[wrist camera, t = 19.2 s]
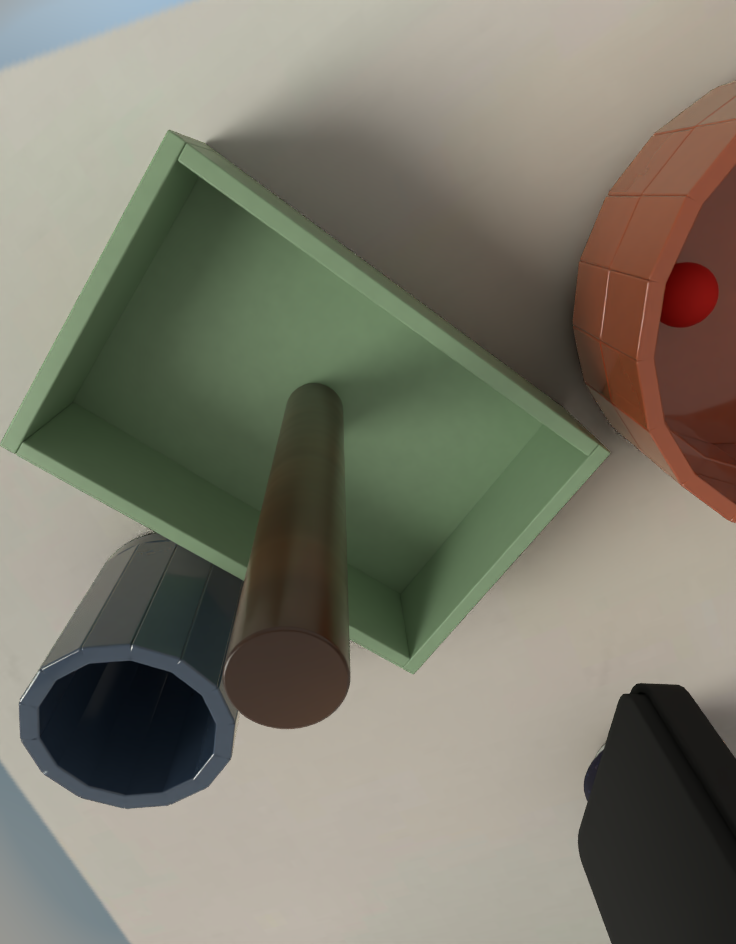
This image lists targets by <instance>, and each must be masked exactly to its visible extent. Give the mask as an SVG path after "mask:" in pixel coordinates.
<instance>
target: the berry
mask: <svg viewBox="0 0 736 944" xmlns="http://www.w3.org/2000/svg"><path fill="white" fill-rule="evenodd" d="M718 295H719V287H718V283H717V280H716V278H715V276H714V275H713V273H712V272H711V271H710V270H709V269H707V268H706V267H704V266H702V265H700V264H697V263H692V262H683V263H678V264H675V265H674V267H673V269H672V272H671V274H670V276H669V278H668V280H667V282H666V287H665V293H664V300H663V306H662V312H661V319H660V322H662V323H663V324H665V325H668V326H671V327H676V328H684V327H689V326H693V325H695V324H697V323H699V322H701V321H703V320H704V319H705V318H706V317H707V316H708V315H709V314H710V313H711V312H712V311H713V309H714V307H715V305H716V303H717V300H718Z"/></svg>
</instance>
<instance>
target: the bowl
mask: <svg viewBox="0 0 736 944" xmlns="http://www.w3.org/2000/svg"><path fill="white" fill-rule="evenodd" d="M683 262H692V263H697V264H700V265H702V266H704V267H706V268H707V269H709V270H710V271H711V272H712V273H713V275H714V276H715V278H716V280H717V283H718V287H719V295H718V300H717V303H716V305H715V307H714V309H713V311H712V312H711V313H710V314H709V315H708V316H707V317H706V318H705V319H704V320H703V321H701V322H699V323H697V324H695V325H693V326H689V327H684V328H676V327H671V326H668V325H665V324H663V323H662V322H660V319H661V312H662V306H663V300H664V293H665V287H666V282H667V280H668V278H669V276H670V274H671V272H672V269H673V267H674V265H675V264H678V263H683ZM572 324H573V325H574V326H573V332H574V336H575V341H576V346H577V351H578V355H579V360H580V365H581V369H582V374H583V379H584V381H585V384H586V386H587V388H588V389H589V391H590V392H591V394H592V396H593V397H594V399H595V400H596V402H597V404H598V405H599V407H600V408H601V410H602V412H603V413H604V415H605V416H606V418H607V419H608V421H609V423H610V424H611V426H612V427H614V429H615V430H617V431H618V432H619V433H620V434H621V435H622V436H624V437H625V438H626V439H627V440H628V441H629V442H631V443H632V444H633V445H634V446H635V447H637V448H638V449H639V450H640V451H641V452H642V453H644V454H645V455H646V456H647V457H648V458H649V459H651V460H652V461H653V462H654V463H655V464H656V465H658V466H659V467H660V468H661V469H662V470H663V471H665V472H666V473H667V474H668V475H669V476H671V477H672V478H673V479H674V480H675V481H676V482H678V483H679V484H680V485H681V486H682V487H684V488H685V489H686V490H688V491H689V492H690V493H692V494H693V495H694V496H696V497H697V498H699V499H700V500H701V501H703V502H704V503H705V504H707V505H708V506H709V507H711V508H712V509H713V510H715V511H716V512H717V513H719V514H720V515H721V516H723V517H724V518H725V519H727V520H729V521H731V522H734V523H736V80H735V81H732V82H730V83H727V84H724V85H721V86H719V87H717V88H715V89H713V90H711V91H710V92H709V93H707V94H706V95H705V96H703V97H702V98H701V99H699V100H698V101H697V102H695V103H694V104H693V105H691V106H690V107H689V108H687V109H686V110H685V111H683V112H682V113H681V114H679V115H678V116H677V117H675V118H674V119H673V120H671V121H670V122H669V123H667V124H666V125H665V126H663V127H662V128H661V129H659V130H658V131H657V132H655V133H654V136H652V137H651V138H650V139H649V141H648V142H647V143H646V145H645V146H644V147H643V148H642V150H641V151H640V152H639V154H638V155H637V156H636V157H635V159H634V160H633V161H632V163H631V164H630V165H629V167H628V168H627V169H626V170H625V172H624V173H623V174H622V176H621V177H620V178H619V179H618V181H617V182H616V183H615V185H614V186H613V187H612V189H611V190H610V191H609V193H608V196H607V197H606V198H605V200H604V202H603V205H602V207H601V210H600V212H599V214H598V217H597V219H596V222H595V224H594V227H593V229H592V231H591V234H590V236H589V239H588V241H587V244H586V246H585V248H584V251H583V253H582V256H581V258H580V262H579V266H578V275H577V285H576V294H575V303H574V312H573V322H572Z"/></svg>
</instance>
